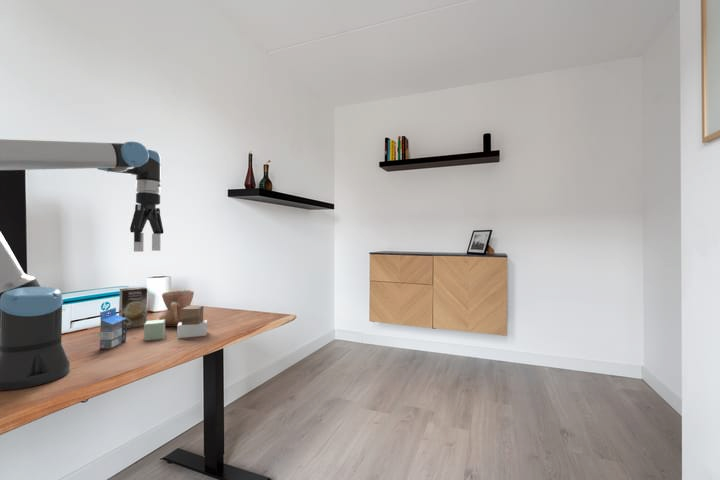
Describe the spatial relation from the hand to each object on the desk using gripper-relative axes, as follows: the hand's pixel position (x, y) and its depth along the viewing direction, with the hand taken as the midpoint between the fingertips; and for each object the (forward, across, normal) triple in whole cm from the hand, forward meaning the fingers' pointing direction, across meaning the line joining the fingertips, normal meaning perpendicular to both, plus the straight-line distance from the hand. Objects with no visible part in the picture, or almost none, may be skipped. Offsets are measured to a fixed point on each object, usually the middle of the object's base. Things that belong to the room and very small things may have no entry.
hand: (147, 251), depth 121 cm
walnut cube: (+28, +5, -14) cm, 32 cm away
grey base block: (+33, +5, -14) cm, 36 cm away
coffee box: (+33, +24, +16) cm, 44 cm away
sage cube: (+33, +4, -1) cm, 33 cm away
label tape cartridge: (+33, -4, +9) cm, 34 cm away
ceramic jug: (+33, +24, -2) cm, 41 cm away
